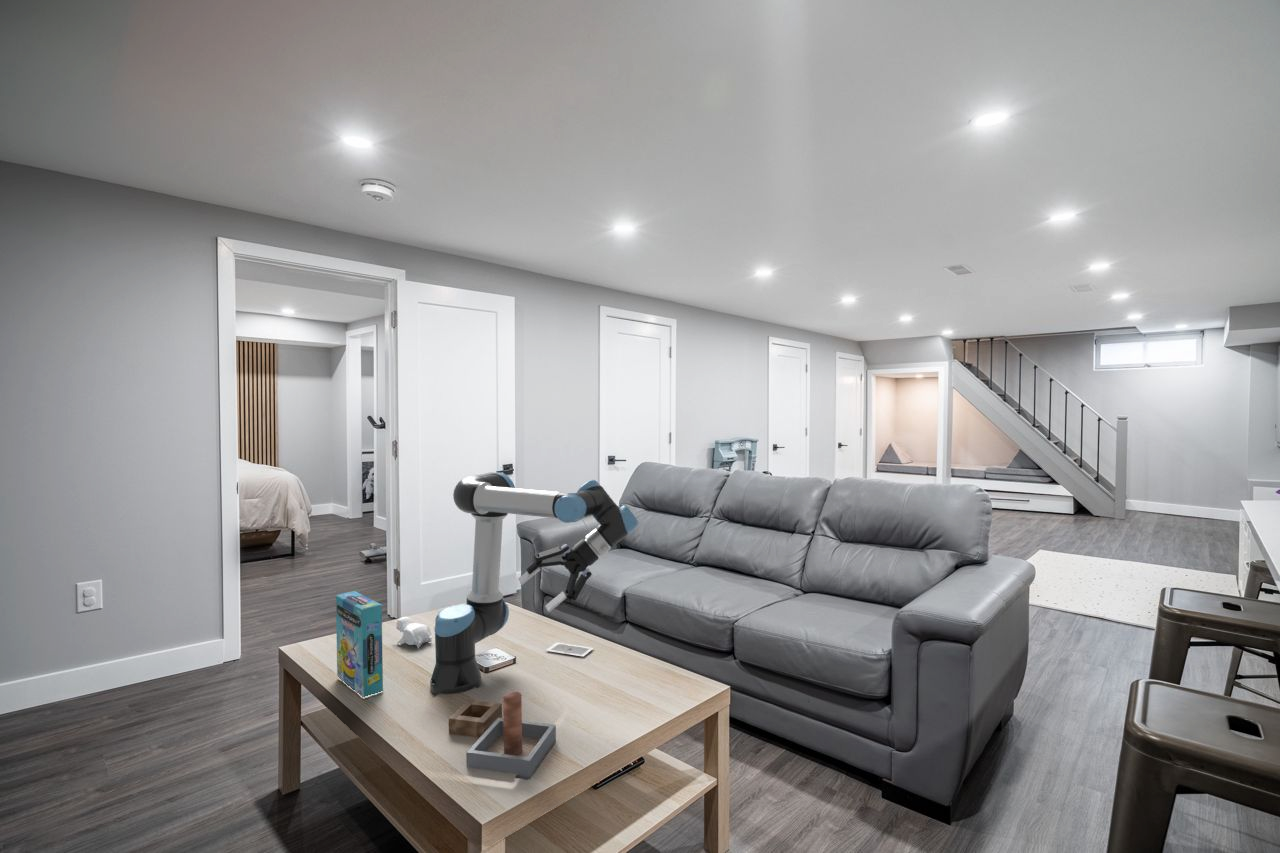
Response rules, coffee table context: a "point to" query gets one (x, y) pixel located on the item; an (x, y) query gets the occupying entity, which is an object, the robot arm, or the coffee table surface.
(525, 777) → the tray
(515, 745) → the dowel
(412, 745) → the coffee table surface
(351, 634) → the game box
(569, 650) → the touchpad
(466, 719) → the socket block
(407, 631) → the white animal figurine
